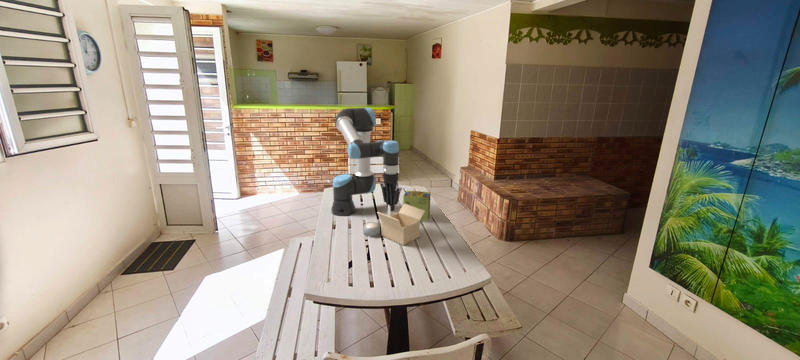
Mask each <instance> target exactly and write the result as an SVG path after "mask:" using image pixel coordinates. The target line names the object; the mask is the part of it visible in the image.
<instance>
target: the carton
mask: <svg viewBox="0 0 800 360" xmlns="http://www.w3.org/2000/svg"><path fill="white" fill-rule="evenodd" d="M392 218H395V219H398V220H399V222H400V224H401V226H402V228H400V227H397V226H395V225H392V224H390V223H387V222H385V221H383V220H381V219H380V221H381V224H380V235H381V237H383V238H385V239H388V240H390V241H392V242H394V243H396V244H399V245H401V246H406V245H408V244H410V243H411V242H413V241H416V240H417V239H419V238H420V227H421V226H420V225H421V223H420V222H421V221H420V220H417V219H415V218H412V217H409V216H407V215H404V214H402V213H399V211H398V212H395V213H394V216H392Z"/></svg>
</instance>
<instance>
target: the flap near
mask: <svg viewBox="0 0 800 360" xmlns="http://www.w3.org/2000/svg"><path fill="white" fill-rule="evenodd" d="M376 213H377V215H378V217H379V219H380V221H381V220H383V221H385V222H387V223H390V224H392V225H395V226H397V227H400V228H402V226H401V224H400V222H399V220H398V219H395V218H392V217H390V216H388V214H385V213H383V212H379V211H377V212H376Z"/></svg>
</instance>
